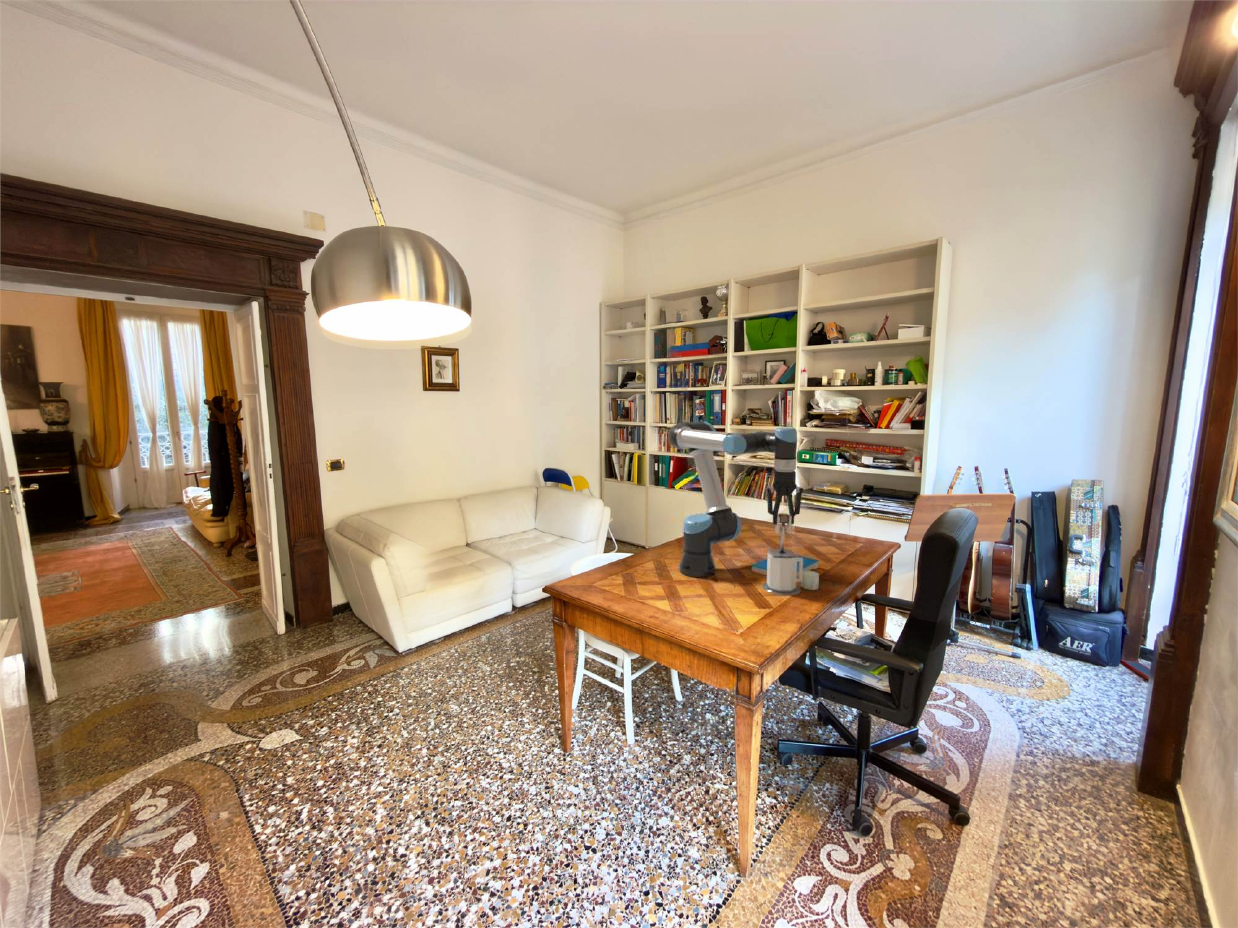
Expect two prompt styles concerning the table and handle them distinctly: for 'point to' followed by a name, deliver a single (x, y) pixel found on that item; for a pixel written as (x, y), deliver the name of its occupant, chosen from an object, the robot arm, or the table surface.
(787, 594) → the disc
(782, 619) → the table surface
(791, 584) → the cafetiere
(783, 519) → the plunger
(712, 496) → the robot arm
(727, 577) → the table surface
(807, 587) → the espresso cup
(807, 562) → the book
